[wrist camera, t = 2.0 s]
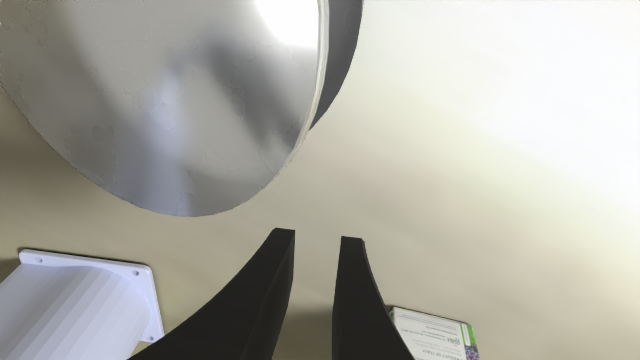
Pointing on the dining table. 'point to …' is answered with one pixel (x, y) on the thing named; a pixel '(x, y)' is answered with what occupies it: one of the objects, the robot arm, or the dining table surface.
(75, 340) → the robot arm
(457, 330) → the syrup box
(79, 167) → the cooker lid
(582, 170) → the dining table surface
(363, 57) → the dining table surface
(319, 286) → the dining table surface
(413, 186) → the dining table surface
